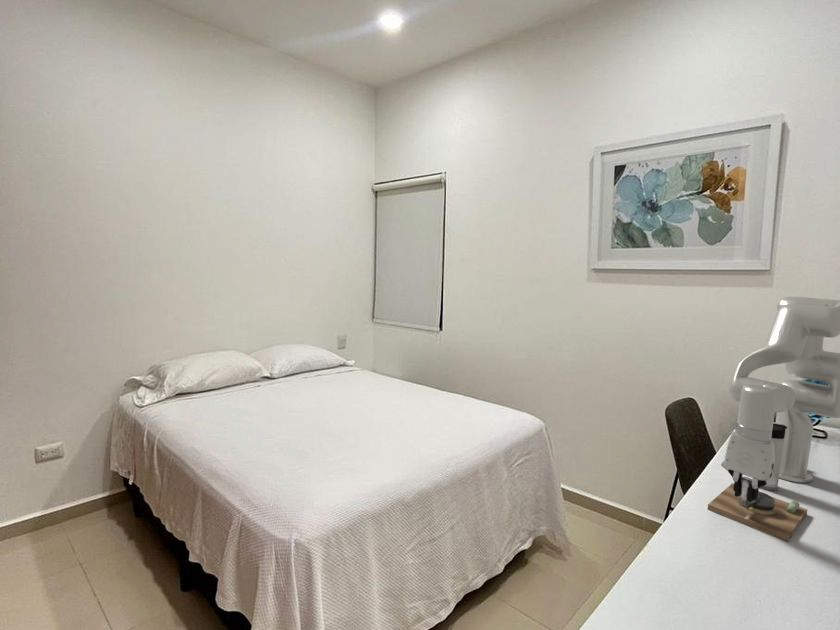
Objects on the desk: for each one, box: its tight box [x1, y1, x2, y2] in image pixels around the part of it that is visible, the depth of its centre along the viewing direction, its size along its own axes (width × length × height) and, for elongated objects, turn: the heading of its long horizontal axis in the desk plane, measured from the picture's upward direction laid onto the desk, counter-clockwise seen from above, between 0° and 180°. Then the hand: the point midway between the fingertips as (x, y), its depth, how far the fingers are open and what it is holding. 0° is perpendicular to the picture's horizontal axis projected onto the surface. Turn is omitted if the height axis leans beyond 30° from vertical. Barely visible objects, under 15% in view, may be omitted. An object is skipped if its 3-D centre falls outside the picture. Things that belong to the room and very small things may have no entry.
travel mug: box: [759, 422, 787, 492], centre depth 140 cm, size 6×7×20 cm
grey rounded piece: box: [738, 476, 775, 510], centre depth 125 cm, size 7×13×9 cm, turn 119°
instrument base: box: [707, 482, 808, 543], centre depth 127 cm, size 20×18×3 cm
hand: (744, 497), depth 122 cm, fingers open, 2 cm apart
